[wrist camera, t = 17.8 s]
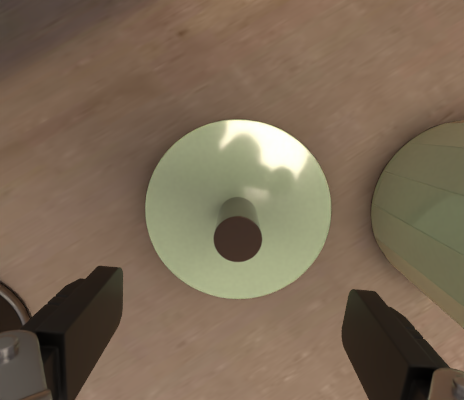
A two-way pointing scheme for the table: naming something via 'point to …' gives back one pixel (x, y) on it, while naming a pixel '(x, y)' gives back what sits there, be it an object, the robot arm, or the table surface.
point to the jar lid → (238, 209)
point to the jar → (426, 215)
